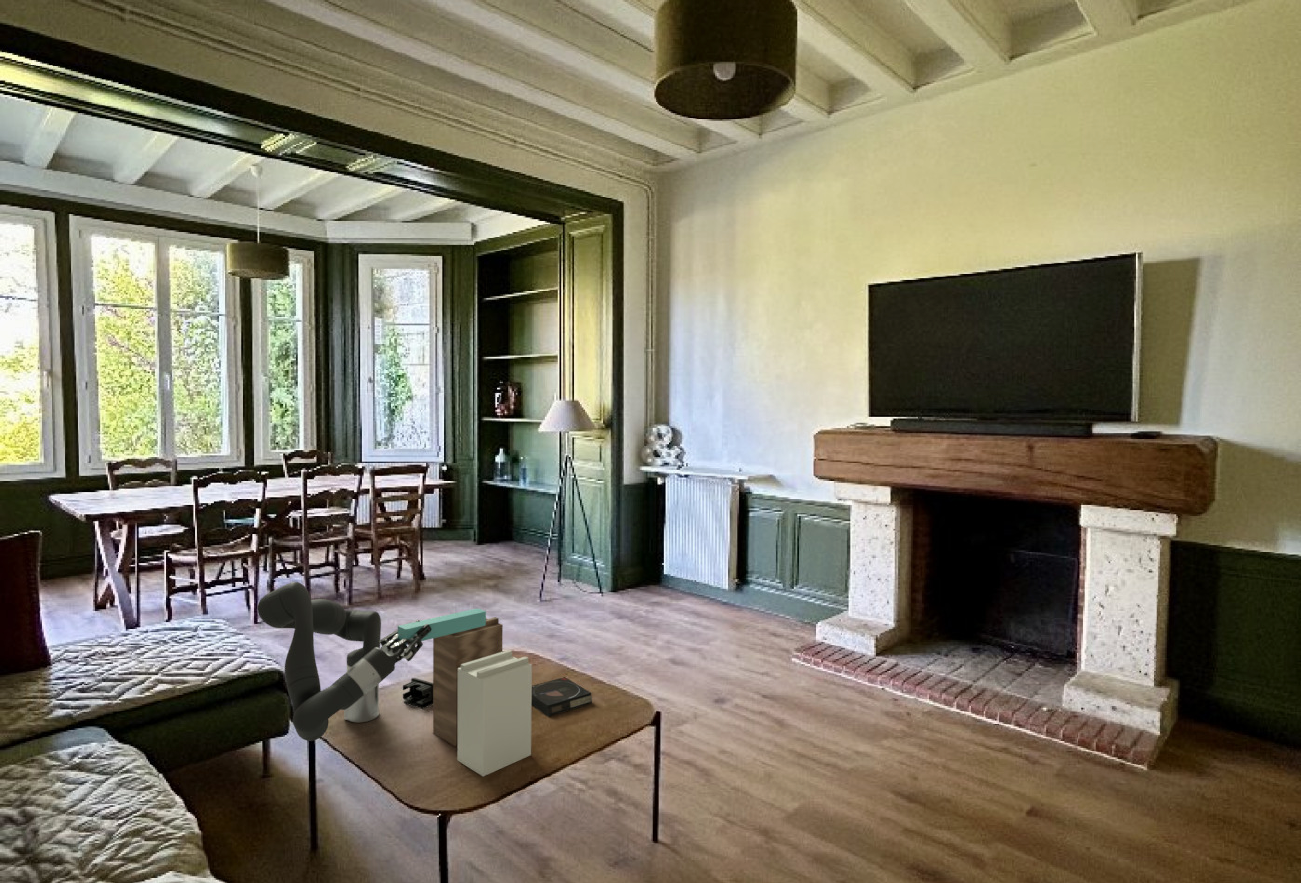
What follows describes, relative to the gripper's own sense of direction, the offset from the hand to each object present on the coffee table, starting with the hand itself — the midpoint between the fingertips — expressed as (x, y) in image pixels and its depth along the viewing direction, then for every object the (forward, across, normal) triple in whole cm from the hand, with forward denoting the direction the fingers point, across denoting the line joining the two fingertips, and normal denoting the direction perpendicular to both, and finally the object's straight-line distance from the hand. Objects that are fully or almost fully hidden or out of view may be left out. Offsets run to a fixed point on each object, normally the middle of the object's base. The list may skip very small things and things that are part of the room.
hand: (424, 624), depth 189 cm
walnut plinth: (-1, +14, +46) cm, 48 cm away
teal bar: (+3, 0, +6) cm, 6 cm away
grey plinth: (-4, -6, +44) cm, 45 cm away
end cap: (0, +42, +46) cm, 63 cm away
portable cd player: (+27, +11, +62) cm, 69 cm away
